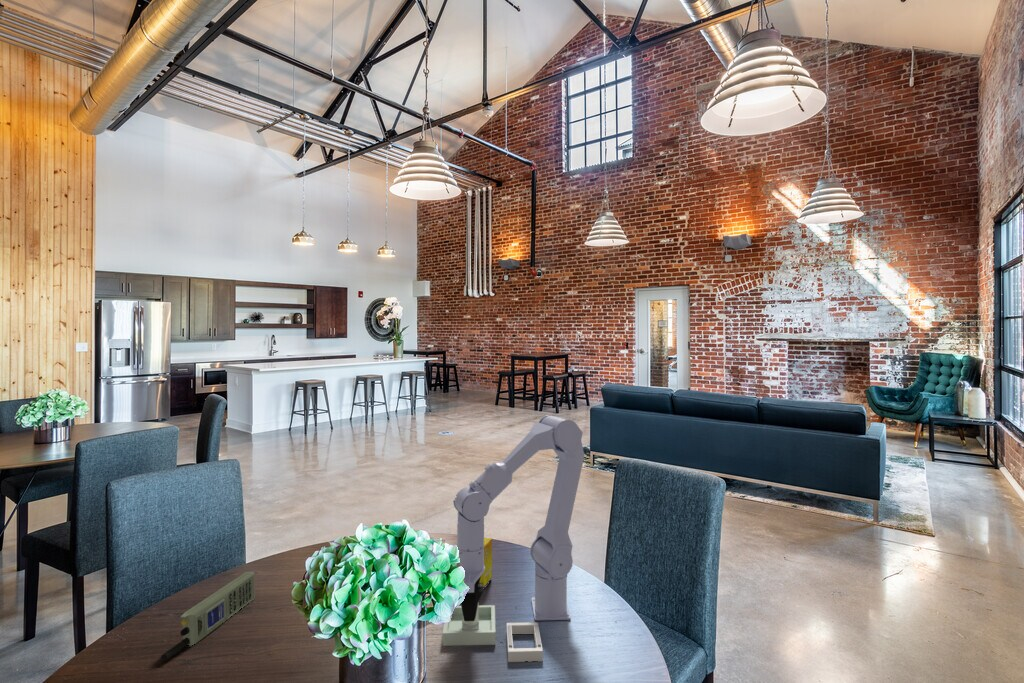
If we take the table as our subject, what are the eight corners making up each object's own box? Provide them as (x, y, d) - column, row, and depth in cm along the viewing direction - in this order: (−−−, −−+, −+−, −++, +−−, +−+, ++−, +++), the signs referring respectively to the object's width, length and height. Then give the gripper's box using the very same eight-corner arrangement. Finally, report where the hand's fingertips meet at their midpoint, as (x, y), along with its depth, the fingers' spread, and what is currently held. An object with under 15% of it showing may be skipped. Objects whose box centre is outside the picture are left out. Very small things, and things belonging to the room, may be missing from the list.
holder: (506, 632, 107) (506, 621, 107) (537, 631, 107) (537, 620, 107) (508, 662, 97) (508, 650, 97) (542, 661, 97) (542, 649, 97)
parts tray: (447, 617, 113) (447, 606, 113) (494, 616, 113) (494, 605, 113) (442, 645, 102) (442, 633, 102) (495, 644, 102) (495, 632, 102)
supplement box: (461, 587, 126) (462, 543, 127) (470, 576, 132) (470, 534, 132) (484, 590, 125) (484, 546, 125) (492, 580, 130) (492, 537, 131)
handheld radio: (257, 599, 120) (171, 665, 96) (245, 599, 121) (156, 664, 96) (256, 571, 120) (170, 630, 96) (244, 571, 121) (155, 629, 96)
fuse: (462, 622, 109) (463, 590, 109) (479, 622, 109) (479, 590, 109) (461, 632, 106) (461, 598, 106) (478, 632, 106) (478, 598, 106)
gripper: (454, 533, 115) (453, 593, 115) (448, 561, 100) (448, 629, 100) (485, 533, 115) (484, 593, 115) (484, 560, 100) (484, 629, 100)
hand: (470, 610), depth 108 cm, fingers open, 7 cm apart
